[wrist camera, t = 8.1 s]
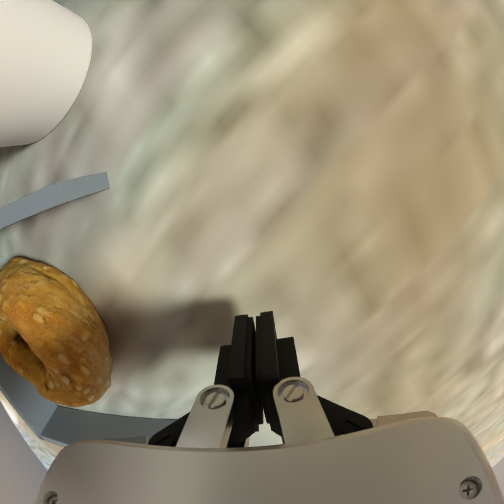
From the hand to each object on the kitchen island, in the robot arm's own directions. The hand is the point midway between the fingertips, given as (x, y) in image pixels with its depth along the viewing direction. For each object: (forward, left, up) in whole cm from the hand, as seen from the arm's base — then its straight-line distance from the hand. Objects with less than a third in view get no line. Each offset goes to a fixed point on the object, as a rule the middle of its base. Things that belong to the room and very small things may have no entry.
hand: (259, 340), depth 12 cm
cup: (-16, -10, -2) cm, 19 cm away
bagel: (-1, -14, -2) cm, 14 cm away
